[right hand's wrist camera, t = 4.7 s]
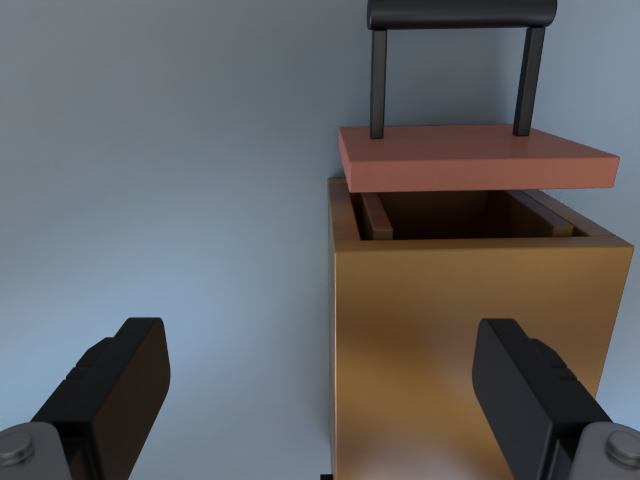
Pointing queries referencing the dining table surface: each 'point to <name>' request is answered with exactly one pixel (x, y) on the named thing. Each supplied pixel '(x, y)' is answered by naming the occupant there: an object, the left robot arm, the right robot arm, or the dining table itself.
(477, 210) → the drawer
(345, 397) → the cabinet
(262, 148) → the dining table surface
